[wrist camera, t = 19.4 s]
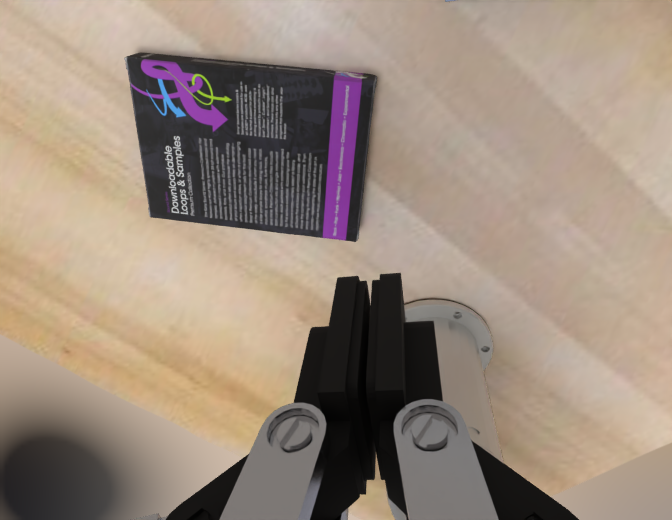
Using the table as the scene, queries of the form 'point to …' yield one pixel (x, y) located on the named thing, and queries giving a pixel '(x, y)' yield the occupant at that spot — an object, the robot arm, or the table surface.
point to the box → (253, 143)
